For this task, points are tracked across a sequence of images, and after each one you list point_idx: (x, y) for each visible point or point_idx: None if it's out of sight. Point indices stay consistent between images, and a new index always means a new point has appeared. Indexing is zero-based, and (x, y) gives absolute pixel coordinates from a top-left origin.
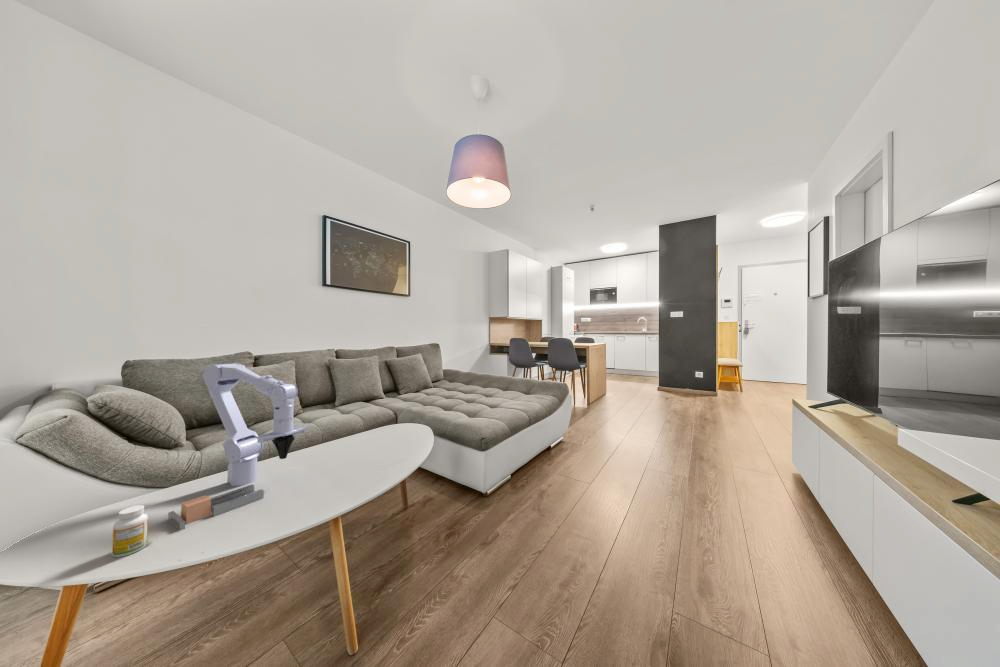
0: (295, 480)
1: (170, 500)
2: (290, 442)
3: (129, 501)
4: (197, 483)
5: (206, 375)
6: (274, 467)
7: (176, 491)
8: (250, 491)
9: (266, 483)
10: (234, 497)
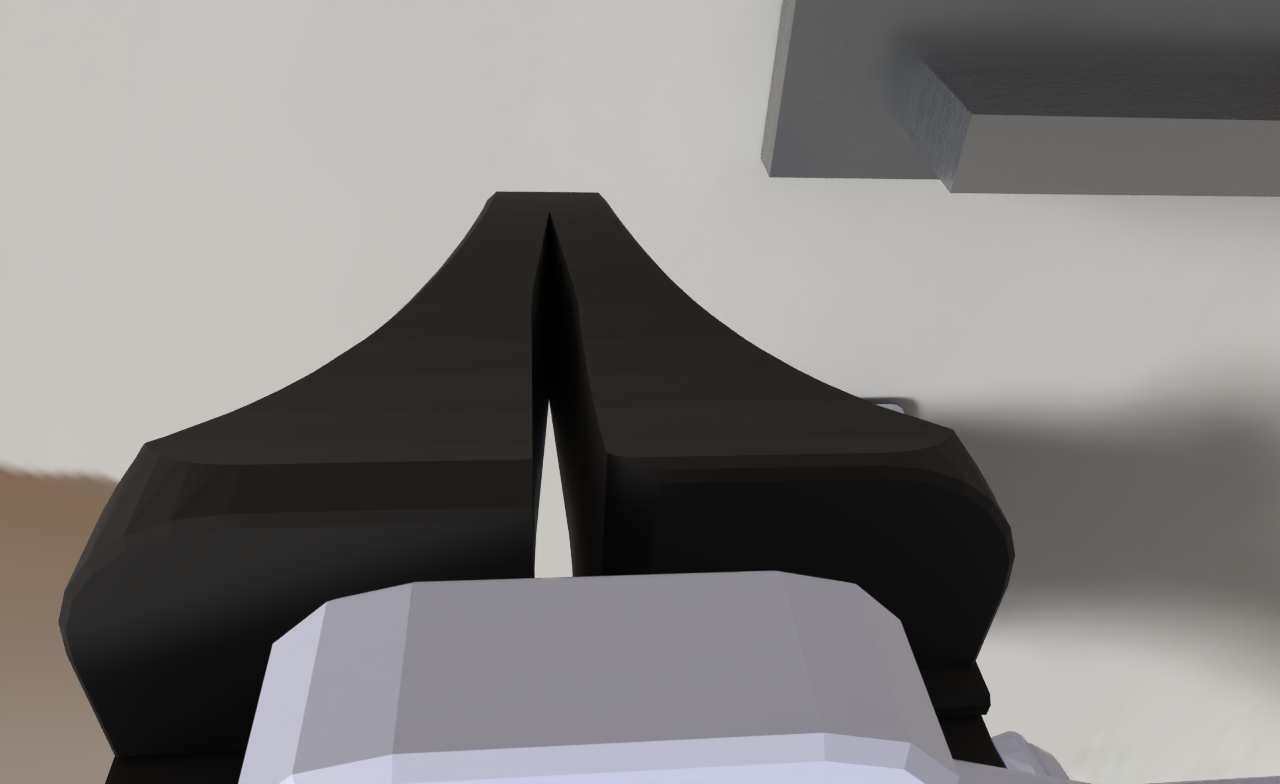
0: (297, 88)
1: (1182, 629)
2: (361, 392)
3: None
4: None
5: None
6: None
7: (1045, 744)
8: (994, 86)
9: None
10: (1180, 89)
